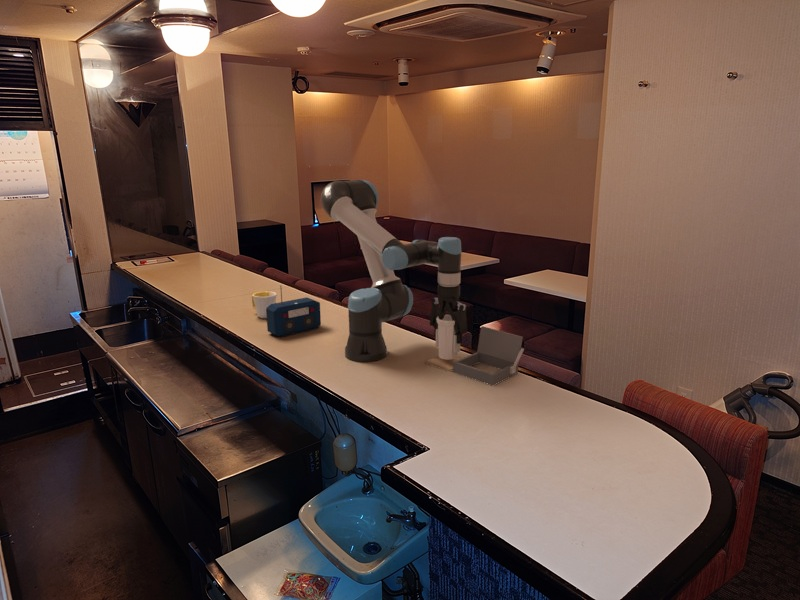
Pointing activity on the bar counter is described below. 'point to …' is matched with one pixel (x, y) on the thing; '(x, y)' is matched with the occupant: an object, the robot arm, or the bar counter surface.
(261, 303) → the mug
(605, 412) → the bar counter surface
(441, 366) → the trivet
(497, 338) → the grey caddy tray
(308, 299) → the radio
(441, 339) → the cup
